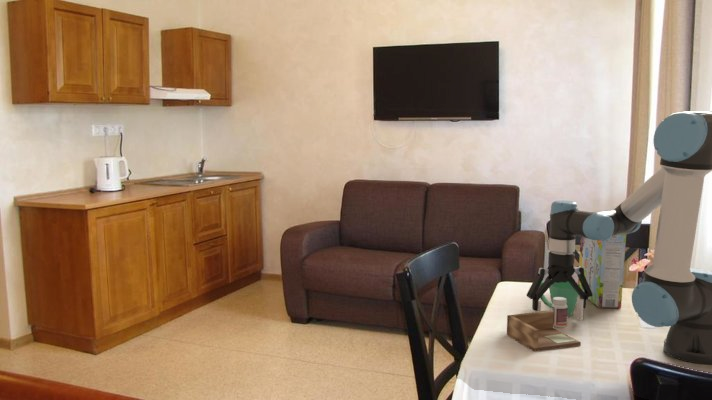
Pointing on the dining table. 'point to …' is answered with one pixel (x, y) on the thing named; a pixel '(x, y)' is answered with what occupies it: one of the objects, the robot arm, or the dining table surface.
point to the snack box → (604, 269)
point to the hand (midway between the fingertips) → (558, 319)
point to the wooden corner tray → (538, 331)
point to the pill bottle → (559, 311)
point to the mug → (562, 295)
